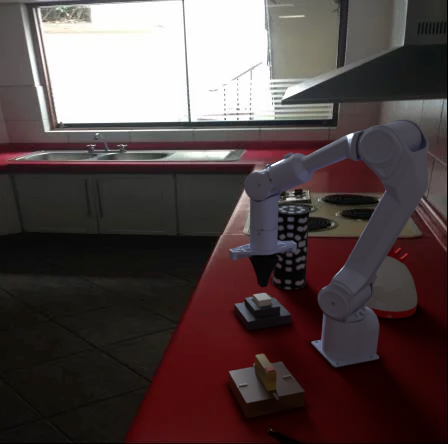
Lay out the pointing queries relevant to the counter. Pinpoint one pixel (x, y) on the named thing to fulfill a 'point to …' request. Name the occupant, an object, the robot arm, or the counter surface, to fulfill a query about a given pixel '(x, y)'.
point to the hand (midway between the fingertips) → (262, 285)
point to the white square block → (261, 299)
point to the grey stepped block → (261, 314)
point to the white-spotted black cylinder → (290, 261)
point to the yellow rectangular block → (265, 372)
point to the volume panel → (265, 391)
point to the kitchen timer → (393, 288)
